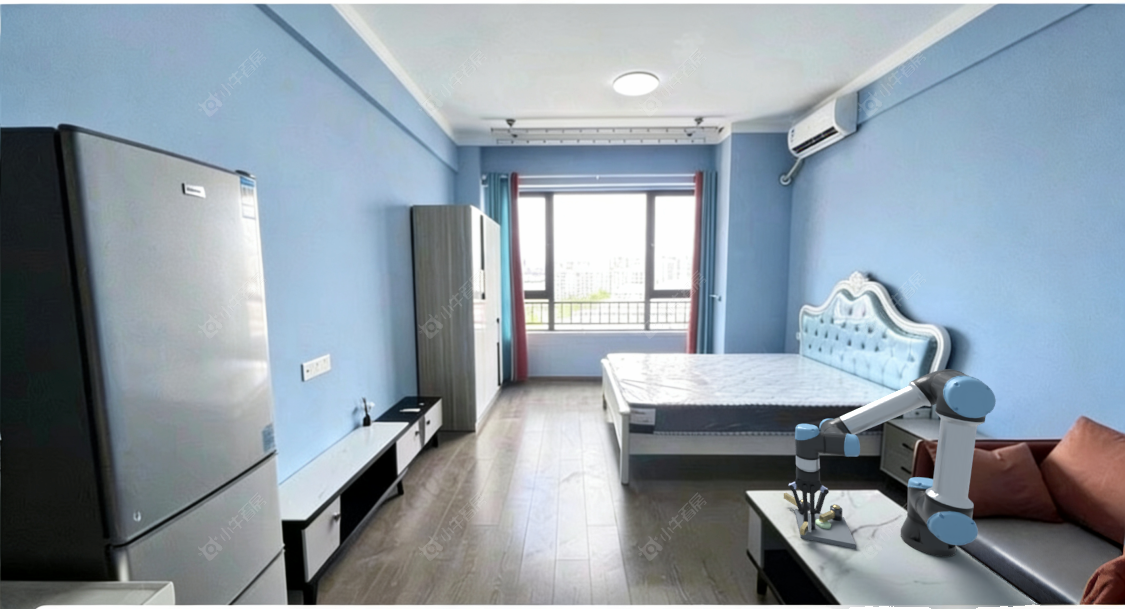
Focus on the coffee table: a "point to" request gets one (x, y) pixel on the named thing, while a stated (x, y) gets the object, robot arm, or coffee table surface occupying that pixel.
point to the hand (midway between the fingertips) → (809, 530)
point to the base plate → (828, 531)
